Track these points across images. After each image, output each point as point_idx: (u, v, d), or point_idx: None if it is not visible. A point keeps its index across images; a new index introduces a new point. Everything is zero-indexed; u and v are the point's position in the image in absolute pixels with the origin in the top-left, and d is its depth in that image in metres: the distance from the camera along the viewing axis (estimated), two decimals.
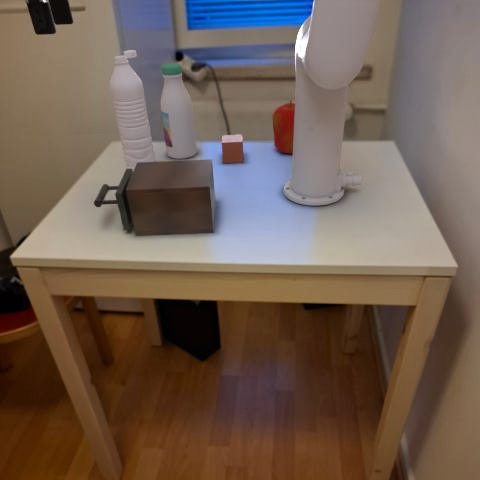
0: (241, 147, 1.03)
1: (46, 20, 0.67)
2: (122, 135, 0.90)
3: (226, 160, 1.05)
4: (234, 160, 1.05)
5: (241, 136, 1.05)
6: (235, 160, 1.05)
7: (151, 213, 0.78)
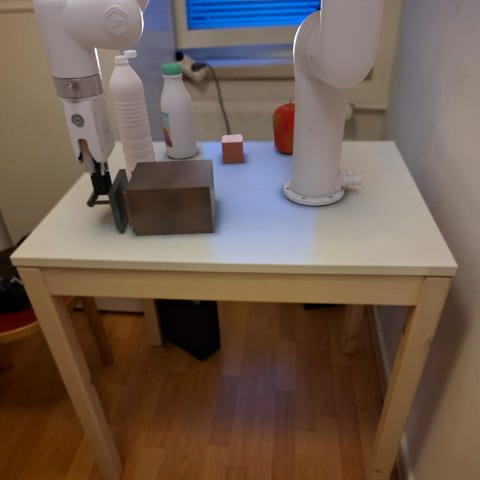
0: (241, 147, 1.03)
1: (105, 186, 0.80)
2: (122, 135, 0.90)
3: (226, 160, 1.05)
4: (234, 160, 1.05)
5: (241, 136, 1.05)
6: (235, 160, 1.05)
7: (151, 213, 0.78)
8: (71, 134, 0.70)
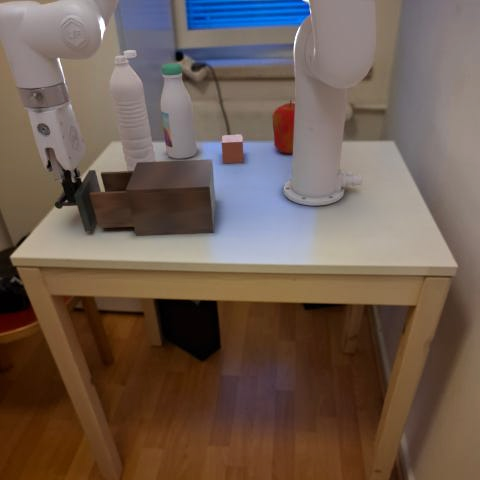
0: (241, 147, 1.03)
1: None
2: (122, 135, 0.90)
3: (226, 160, 1.05)
4: (234, 160, 1.05)
5: (241, 136, 1.05)
6: (235, 160, 1.05)
7: (151, 213, 0.78)
8: (38, 143, 0.71)
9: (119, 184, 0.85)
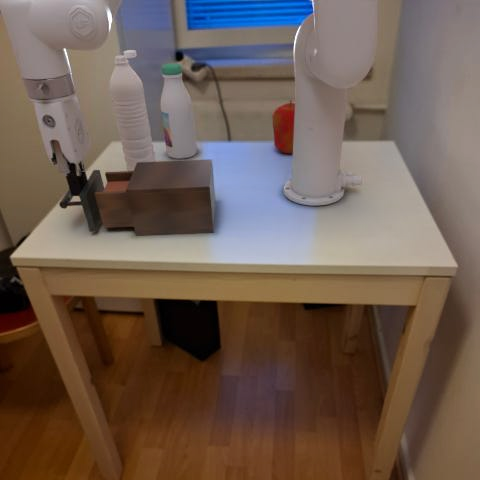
0: None
1: (81, 187, 0.80)
2: (122, 135, 0.90)
3: None
4: None
5: None
6: None
7: (151, 213, 0.78)
8: (43, 135, 0.70)
9: None
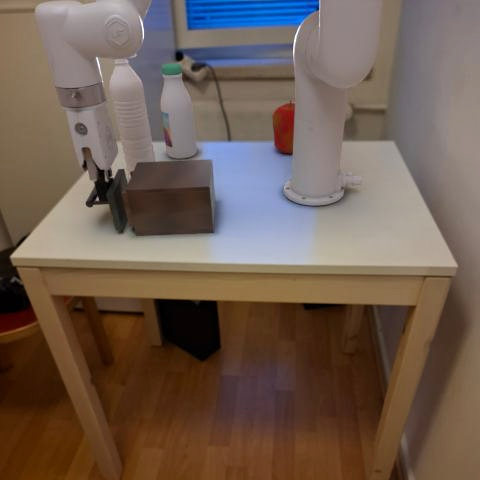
0: None
1: None
2: (122, 135, 0.90)
3: None
4: None
5: None
6: None
7: (151, 213, 0.78)
8: (75, 143, 0.71)
9: None
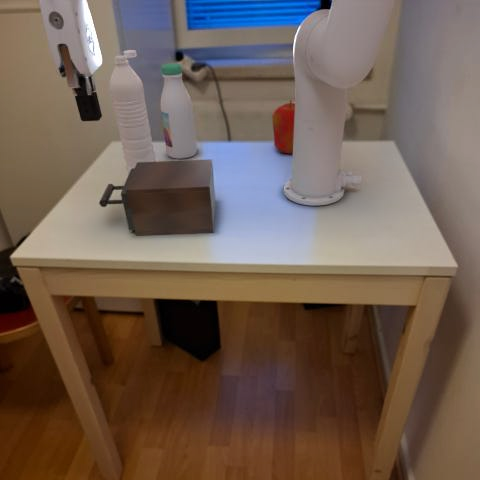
0: None
1: (92, 109, 0.71)
2: (122, 135, 0.90)
3: None
4: None
5: None
6: None
7: (151, 213, 0.78)
8: (49, 38, 0.62)
9: None
